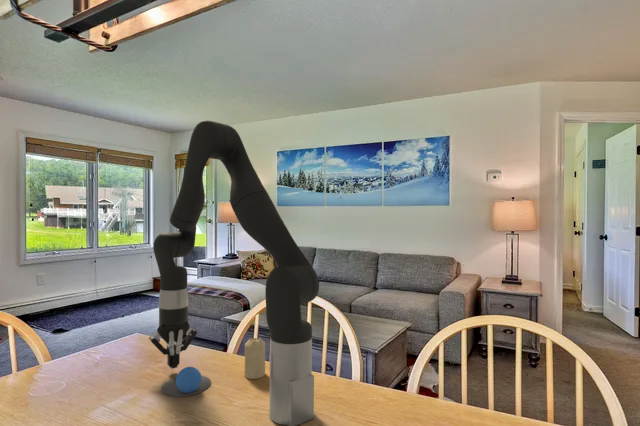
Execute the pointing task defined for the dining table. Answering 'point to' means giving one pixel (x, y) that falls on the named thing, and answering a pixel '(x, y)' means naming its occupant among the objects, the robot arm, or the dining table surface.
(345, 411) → the dining table surface
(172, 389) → the disc
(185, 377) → the ball
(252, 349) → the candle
